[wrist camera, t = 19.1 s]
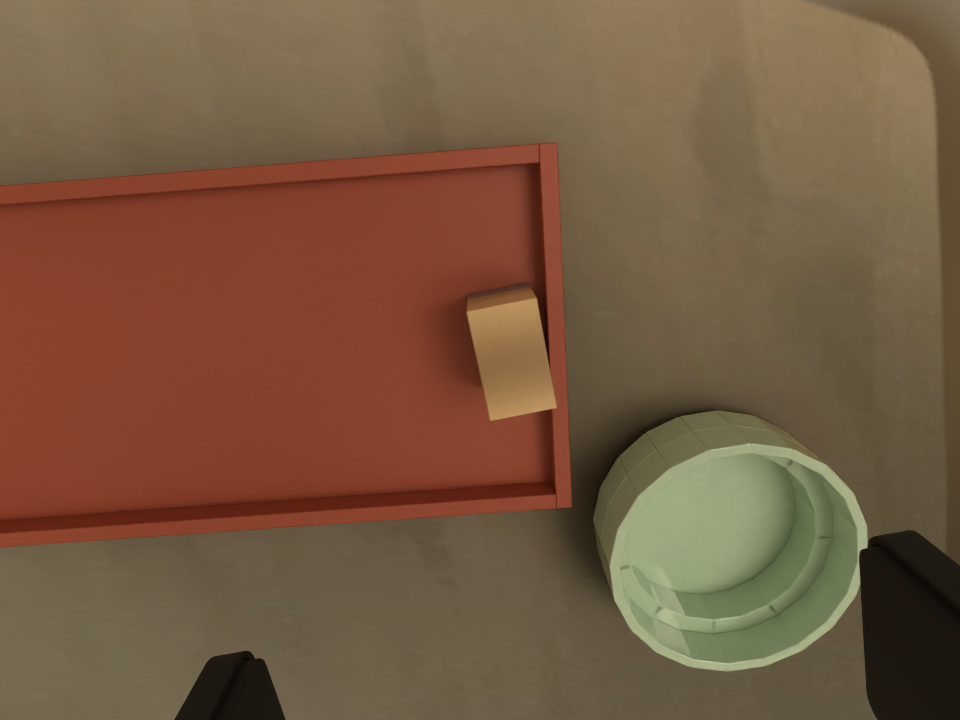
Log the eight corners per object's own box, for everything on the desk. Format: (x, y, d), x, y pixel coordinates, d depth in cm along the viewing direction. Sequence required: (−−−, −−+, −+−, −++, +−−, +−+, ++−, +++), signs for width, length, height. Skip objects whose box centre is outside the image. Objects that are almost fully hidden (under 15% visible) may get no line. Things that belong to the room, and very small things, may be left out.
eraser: (467, 293, 31) (466, 311, 27) (528, 281, 31) (536, 297, 27) (487, 390, 33) (489, 421, 28) (546, 378, 32) (557, 408, 28)
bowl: (716, 360, 33) (757, 391, 28) (858, 509, 35) (919, 561, 30) (546, 513, 35) (557, 566, 30) (691, 643, 37) (723, 712, 33)
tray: (551, 144, 30) (557, 142, 28) (566, 488, 35) (572, 507, 33) (-158, 200, 31) (-203, 201, 29) (-50, 532, 35) (-82, 553, 33)
